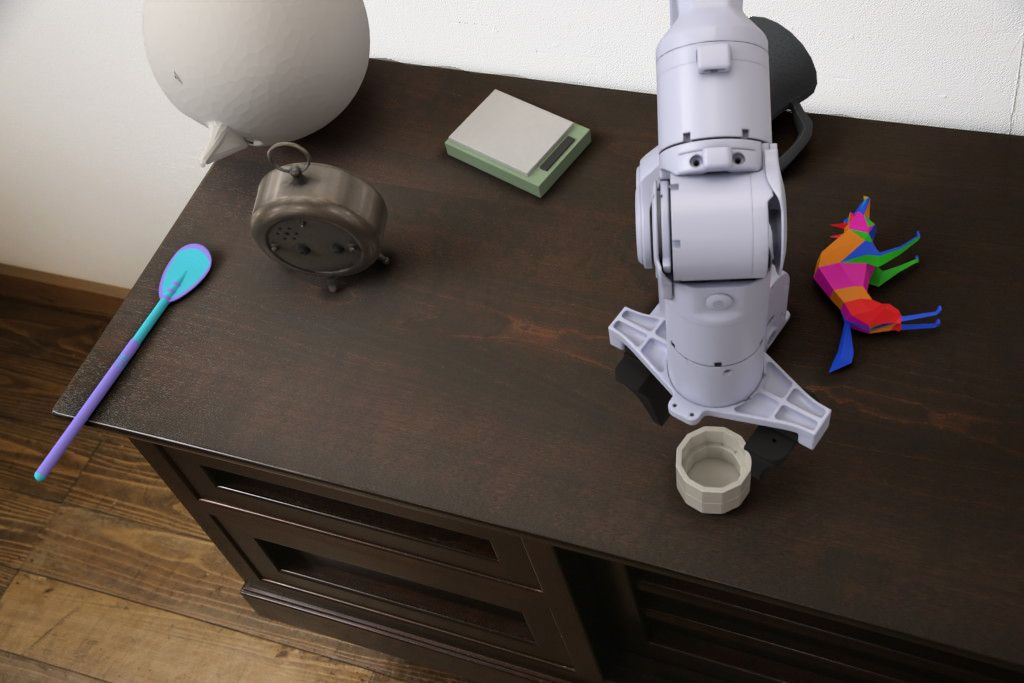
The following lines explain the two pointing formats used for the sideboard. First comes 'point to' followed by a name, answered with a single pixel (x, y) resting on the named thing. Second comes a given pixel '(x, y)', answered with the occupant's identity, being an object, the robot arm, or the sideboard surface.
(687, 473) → the bowl
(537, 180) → the scale
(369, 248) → the alarm clock
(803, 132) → the mug
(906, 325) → the figurine
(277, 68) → the mask
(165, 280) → the spoon
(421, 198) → the sideboard surface
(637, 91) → the sideboard surface
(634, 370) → the robot arm
